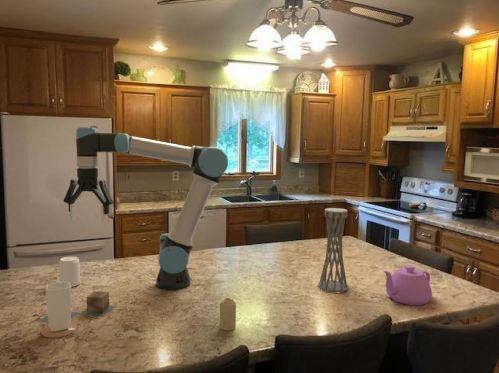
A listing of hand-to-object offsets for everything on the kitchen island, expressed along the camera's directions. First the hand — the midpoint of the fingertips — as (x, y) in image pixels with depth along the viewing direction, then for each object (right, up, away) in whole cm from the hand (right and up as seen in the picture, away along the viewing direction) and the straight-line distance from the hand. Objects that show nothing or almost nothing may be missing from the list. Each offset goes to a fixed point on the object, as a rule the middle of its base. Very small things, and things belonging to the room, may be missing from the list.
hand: (88, 221), depth 162 cm
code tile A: (-5, -33, -14) cm, 36 cm away
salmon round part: (0, -34, -24) cm, 42 cm away
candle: (+56, -35, -20) cm, 69 cm away
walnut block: (+6, -33, -7) cm, 34 cm away
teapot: (+129, -33, +9) cm, 133 cm away
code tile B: (+6, -33, -7) cm, 34 cm away
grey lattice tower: (+101, -31, +21) cm, 108 cm away
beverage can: (-16, -30, +19) cm, 39 cm away
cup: (0, -34, -24) cm, 42 cm away
